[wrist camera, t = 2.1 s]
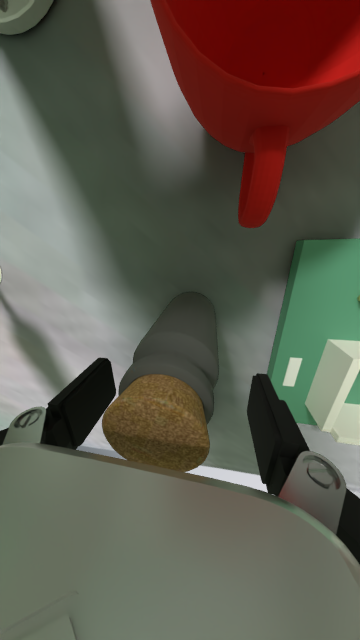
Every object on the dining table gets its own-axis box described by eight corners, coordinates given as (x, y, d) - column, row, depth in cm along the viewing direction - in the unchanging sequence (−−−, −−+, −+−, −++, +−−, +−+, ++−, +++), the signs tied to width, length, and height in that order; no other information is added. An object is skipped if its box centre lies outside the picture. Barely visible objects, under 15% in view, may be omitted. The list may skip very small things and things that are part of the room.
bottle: (225, 313, 20) (258, 451, 6) (193, 344, 22) (166, 495, 9) (187, 280, 19) (130, 357, 6) (158, 316, 22) (68, 432, 8)
